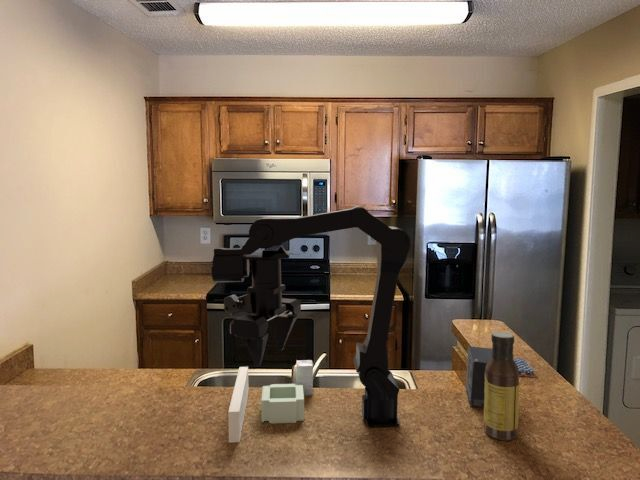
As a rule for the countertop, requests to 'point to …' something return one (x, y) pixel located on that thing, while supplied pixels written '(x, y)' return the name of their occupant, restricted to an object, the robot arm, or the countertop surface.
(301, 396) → the socket block
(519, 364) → the woven mat
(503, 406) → the sauce bottle
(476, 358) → the small box
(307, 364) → the grey square block
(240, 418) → the backstop wall
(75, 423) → the countertop surface
